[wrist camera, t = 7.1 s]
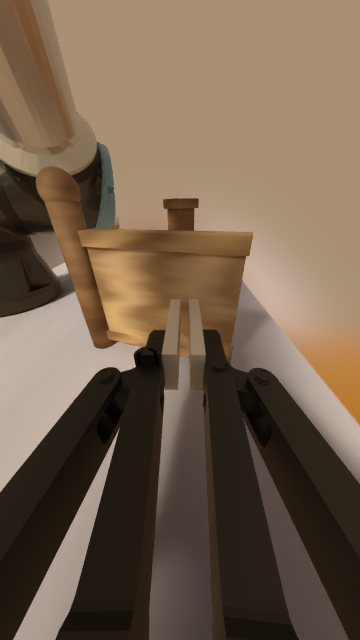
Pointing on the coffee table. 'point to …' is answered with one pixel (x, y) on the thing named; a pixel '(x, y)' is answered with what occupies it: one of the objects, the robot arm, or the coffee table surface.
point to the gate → (167, 279)
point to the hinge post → (74, 246)
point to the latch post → (180, 213)
